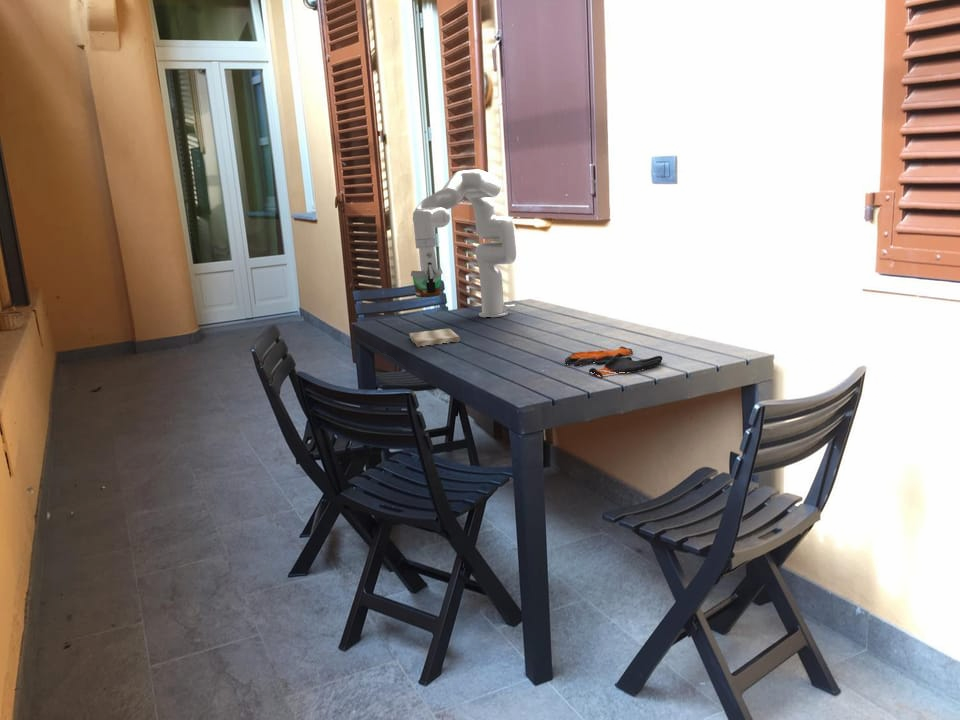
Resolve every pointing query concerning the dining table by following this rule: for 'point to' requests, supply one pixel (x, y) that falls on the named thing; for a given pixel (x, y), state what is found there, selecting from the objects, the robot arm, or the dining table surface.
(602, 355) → the pair of gloves
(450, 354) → the dining table surface
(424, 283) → the food container
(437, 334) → the birch board
